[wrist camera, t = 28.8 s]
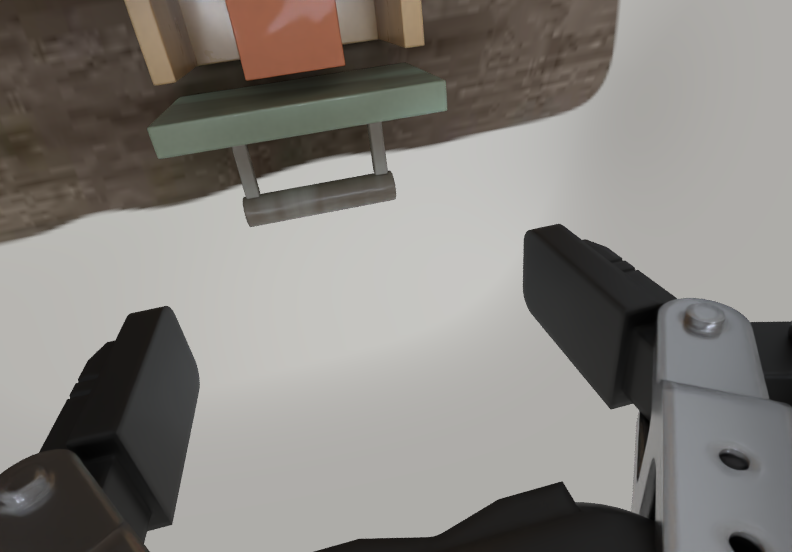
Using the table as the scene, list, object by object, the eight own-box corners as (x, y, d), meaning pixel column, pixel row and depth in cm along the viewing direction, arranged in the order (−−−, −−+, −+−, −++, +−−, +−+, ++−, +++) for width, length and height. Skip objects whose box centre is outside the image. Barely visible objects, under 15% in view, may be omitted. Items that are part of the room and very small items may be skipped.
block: (250, 69, 22) (246, 81, 19) (225, -33, 20) (214, -40, 17) (335, 56, 23) (345, 65, 19) (318, -44, 21) (326, -54, 17)
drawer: (416, 165, 27) (453, 208, 22) (213, 202, 26) (195, 259, 20) (380, -214, 19) (424, -306, 14) (83, -191, 18) (-9, -283, 12)
